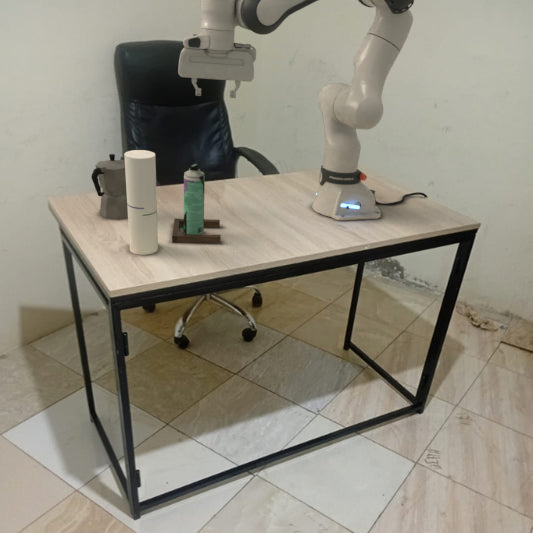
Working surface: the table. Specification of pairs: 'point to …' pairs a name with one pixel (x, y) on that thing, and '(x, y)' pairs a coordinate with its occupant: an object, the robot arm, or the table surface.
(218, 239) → the frame
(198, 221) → the spray can
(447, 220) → the table surface
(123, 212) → the coffeepot
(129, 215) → the cylindrical container
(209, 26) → the robot arm
